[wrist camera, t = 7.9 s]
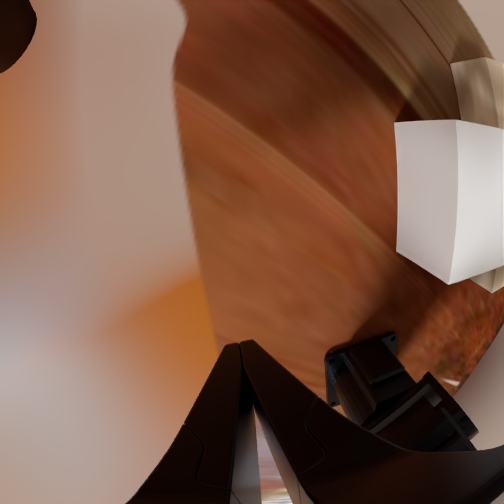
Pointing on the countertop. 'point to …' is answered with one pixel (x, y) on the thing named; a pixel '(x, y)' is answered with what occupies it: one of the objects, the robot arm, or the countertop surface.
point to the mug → (15, 30)
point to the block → (450, 197)
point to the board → (482, 119)
